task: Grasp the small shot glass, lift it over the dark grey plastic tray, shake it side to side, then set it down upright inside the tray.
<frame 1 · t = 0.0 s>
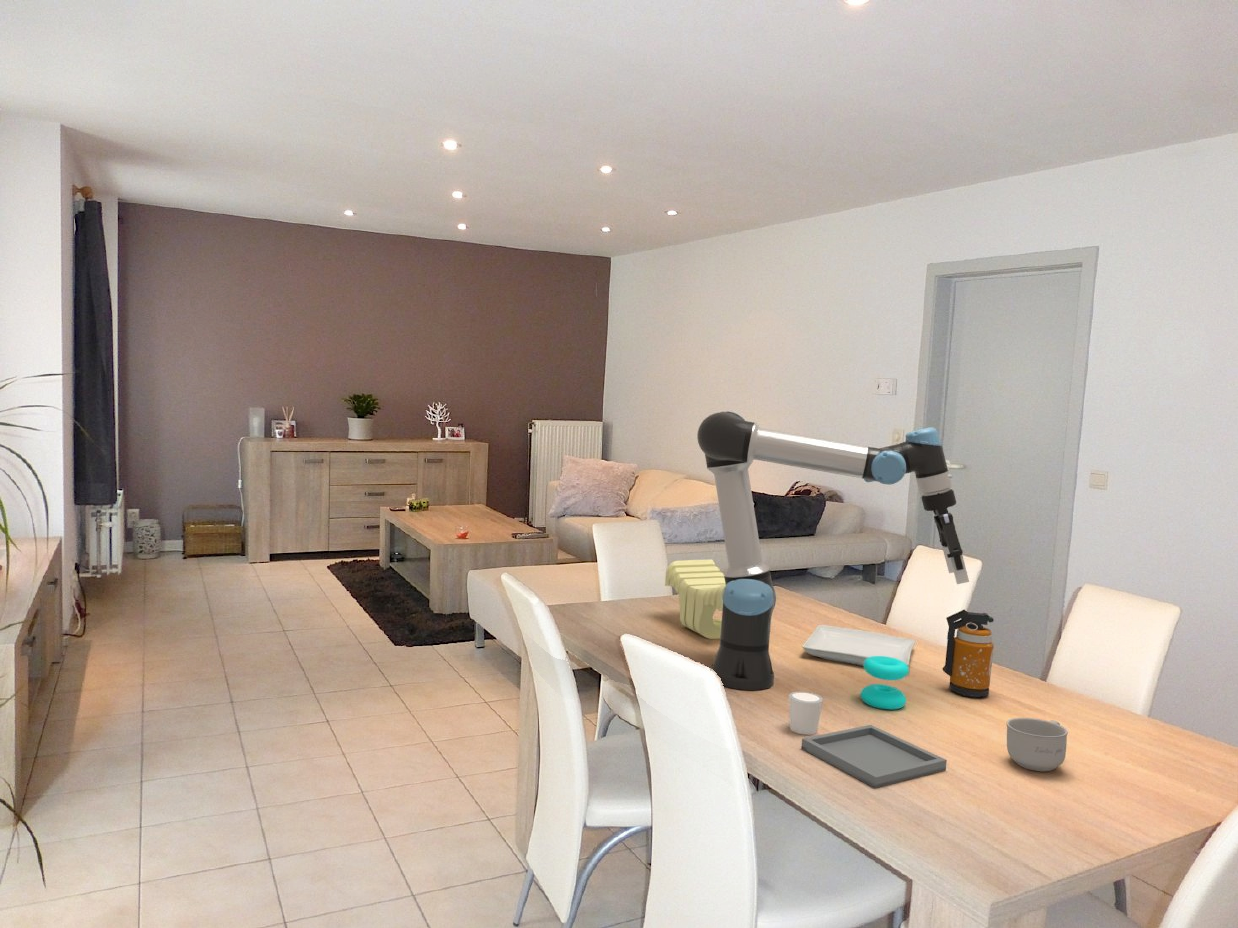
hand: (958, 577, 216), 28 cm above the table, tool tilted 20°, fingers open, 13 cm apart
tray: (872, 759, 173), on the table
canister: (963, 693, 218), on the table
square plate: (859, 656, 246), on the table
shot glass: (803, 730, 187), on the table
donuts: (882, 704, 206), on the table
teacup: (1038, 765, 176), on the table
slatted curved stool: (712, 632, 259), on the table
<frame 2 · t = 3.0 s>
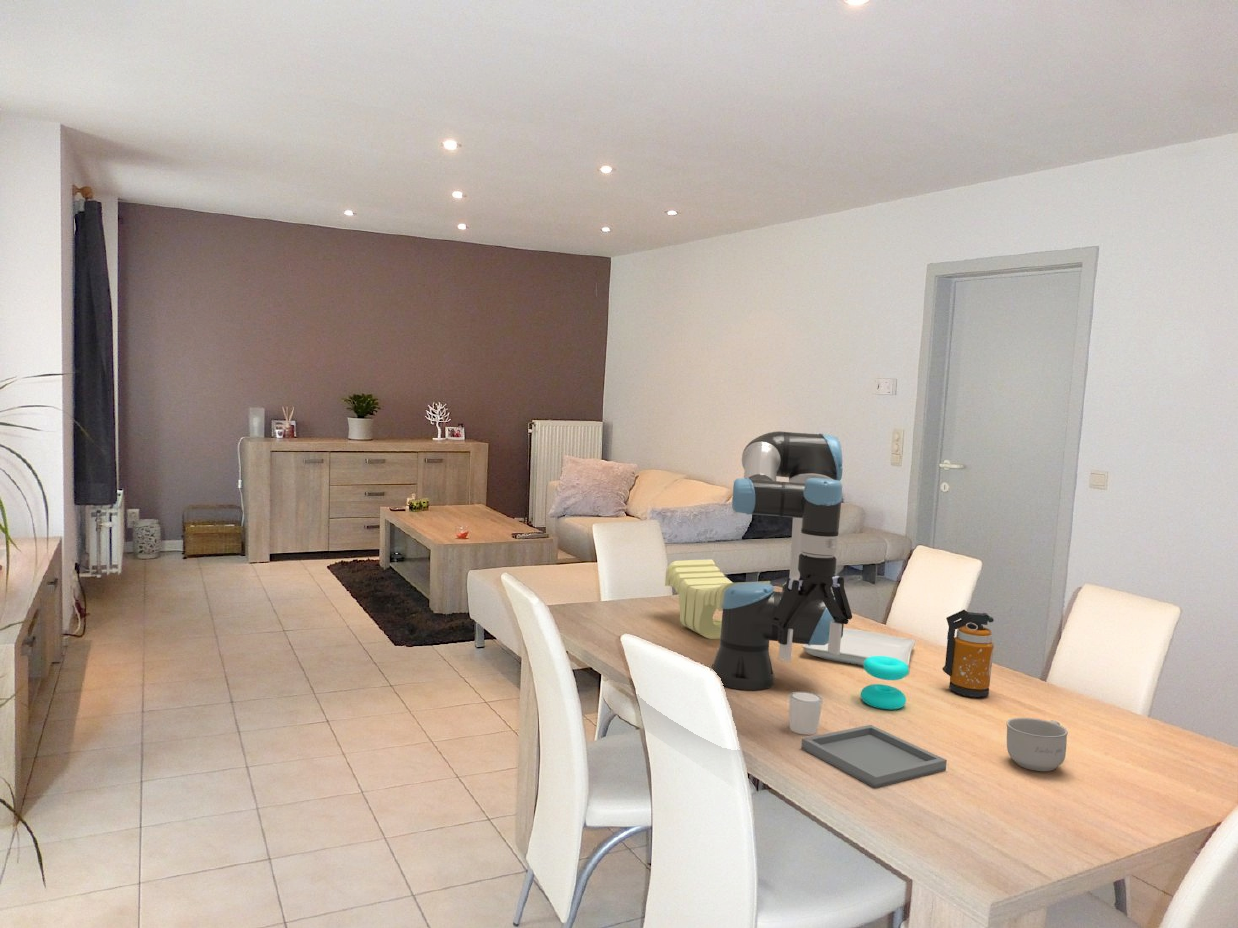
hand: (809, 656, 185), 15 cm above the table, tool pointing down, fingers open, 13 cm apart
nothing on the table moved.
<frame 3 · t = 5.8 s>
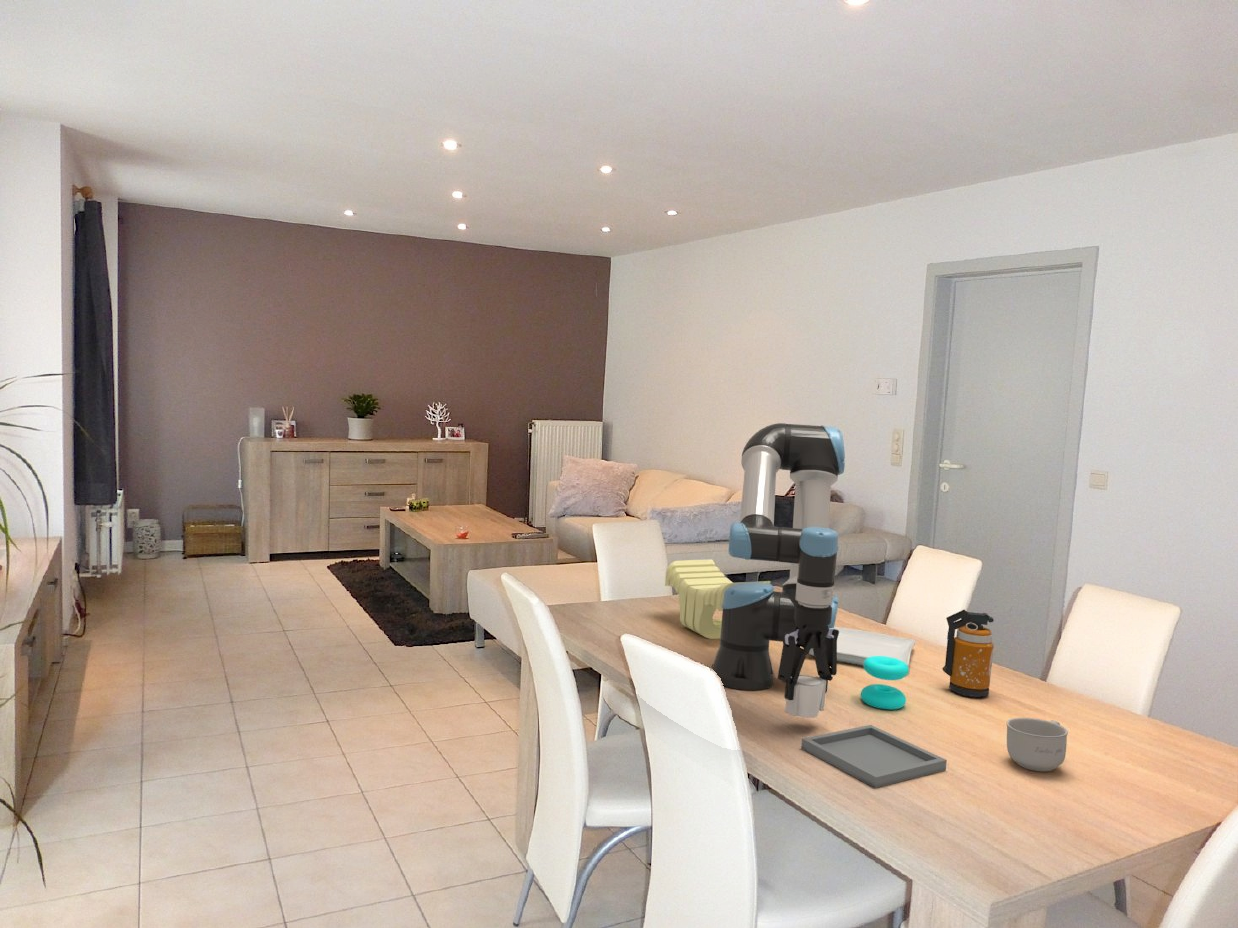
hand: (804, 711, 187), 4 cm above the table, tool pointing down, fingers closed on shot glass, 7 cm apart
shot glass: (804, 713, 187), point 3 cm above the table, touching gripper
everything else where it was.
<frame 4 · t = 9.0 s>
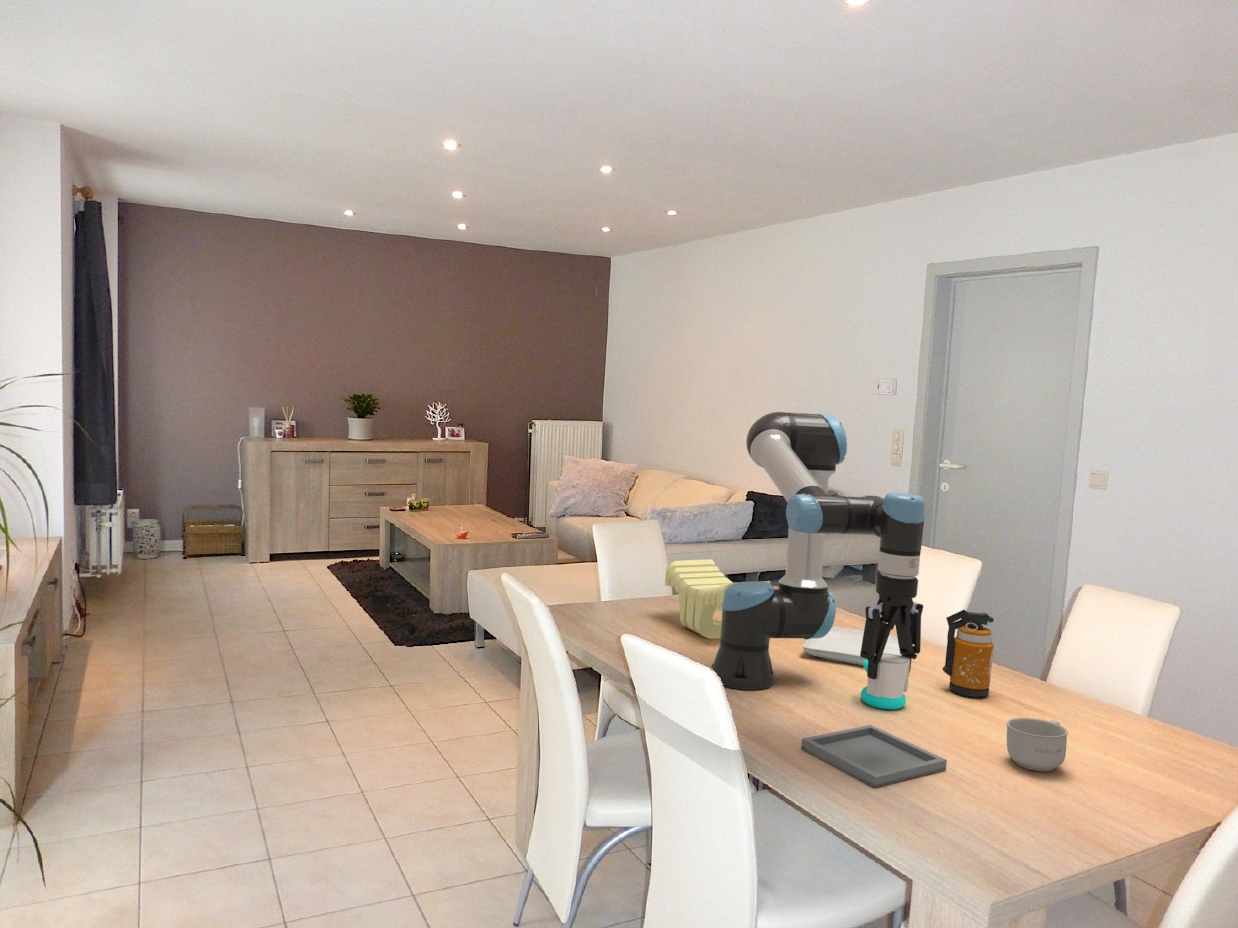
hand: (887, 691, 174), 13 cm above the table, tool pointing down, fingers closed on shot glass, 7 cm apart
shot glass: (887, 694, 174), point 13 cm above the table, touching gripper
everything else where it was.
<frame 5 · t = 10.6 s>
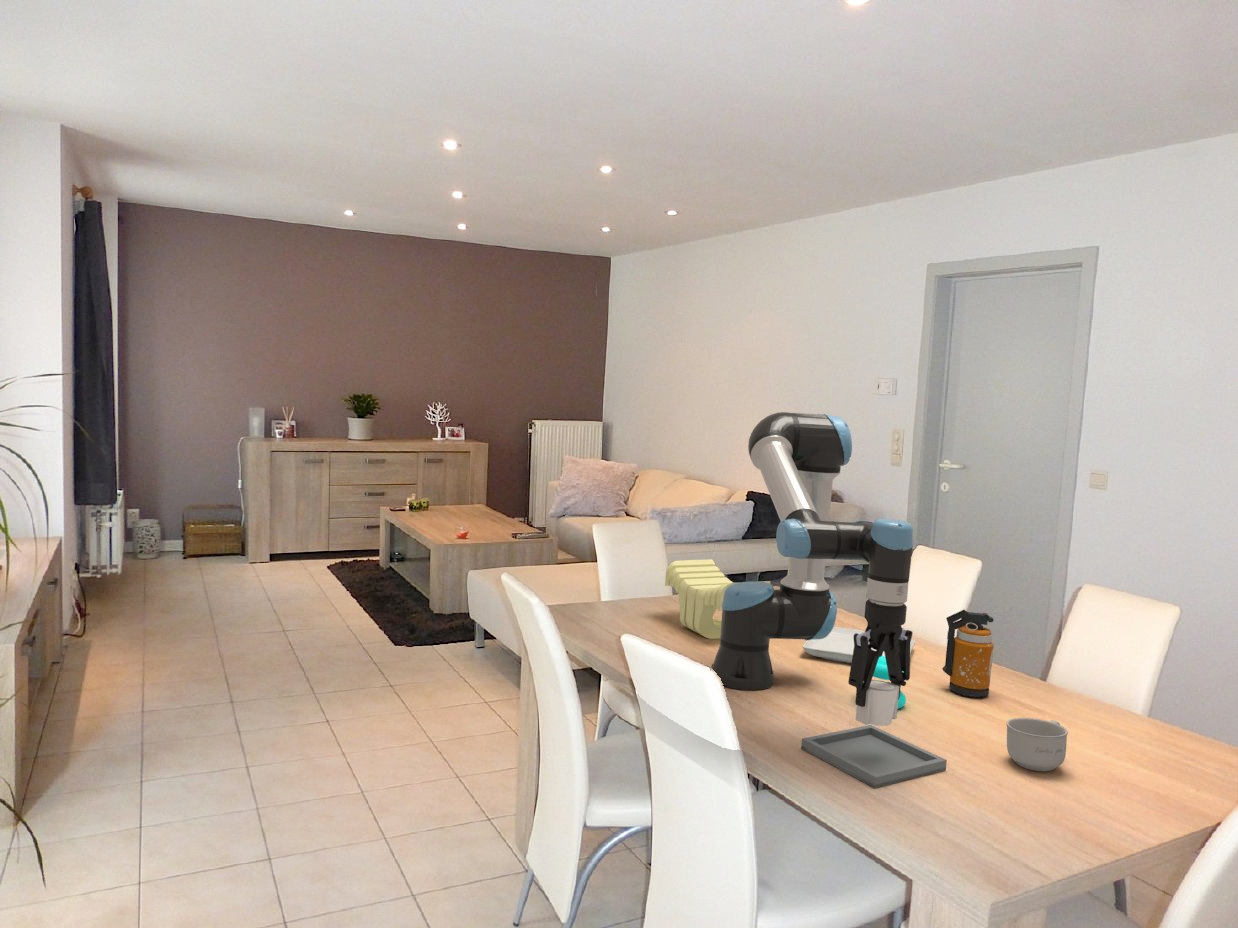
hand: (876, 719, 173), 8 cm above the table, tool pointing down, fingers closed on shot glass, 7 cm apart
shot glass: (876, 721, 173), point 8 cm above the table, touching gripper
everything else where it was.
when the fingers open (1 cm above the table, at t = 12.1 s): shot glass stays where it is, resting on tray.
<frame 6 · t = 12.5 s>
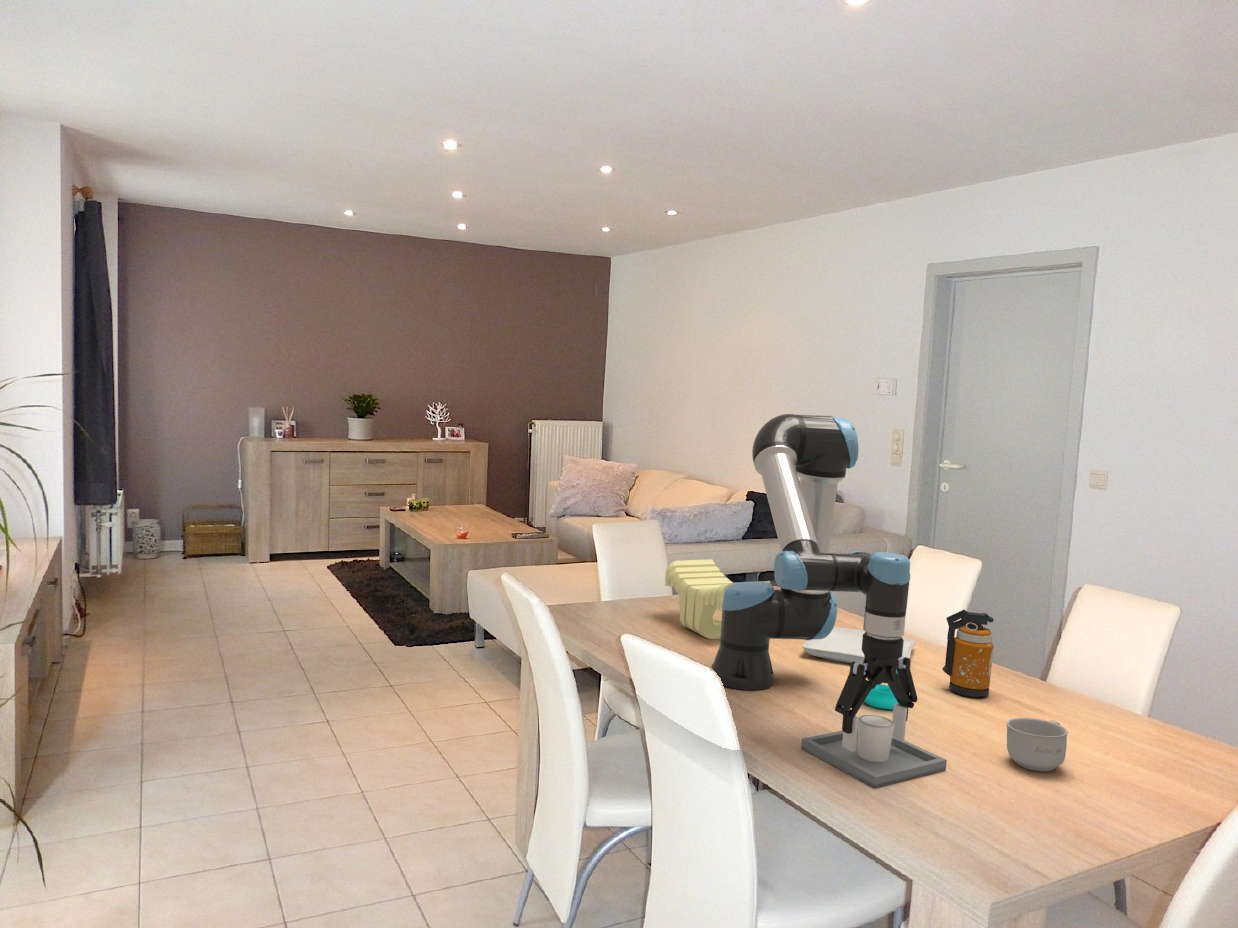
hand: (873, 743, 173), 3 cm above the table, tool pointing down, fingers open, 13 cm apart
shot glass: (872, 756, 173), resting on tray
everything else where it was.
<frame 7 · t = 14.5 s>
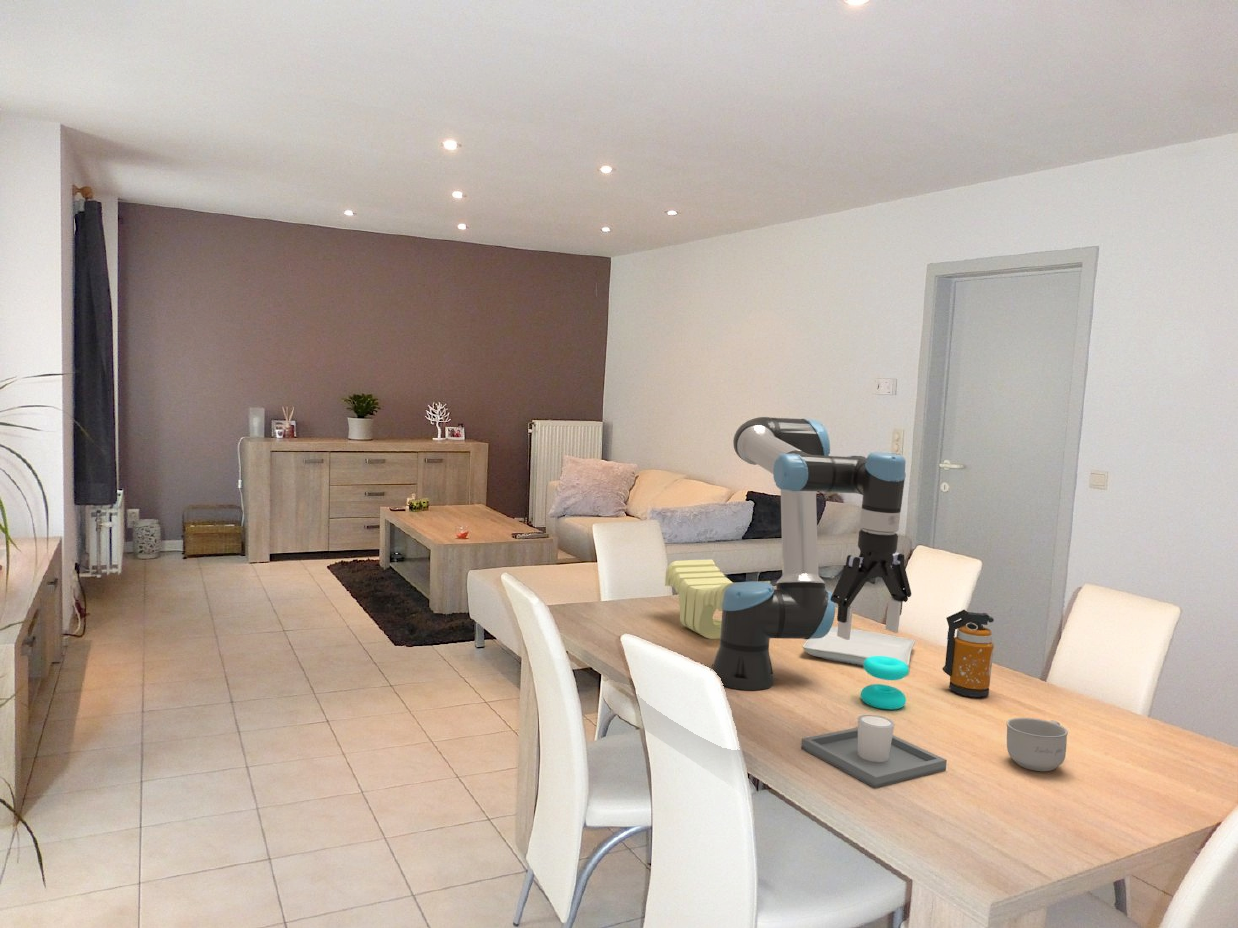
hand: (867, 634, 182), 22 cm above the table, tool pointing down, fingers open, 13 cm apart
nothing on the table moved.
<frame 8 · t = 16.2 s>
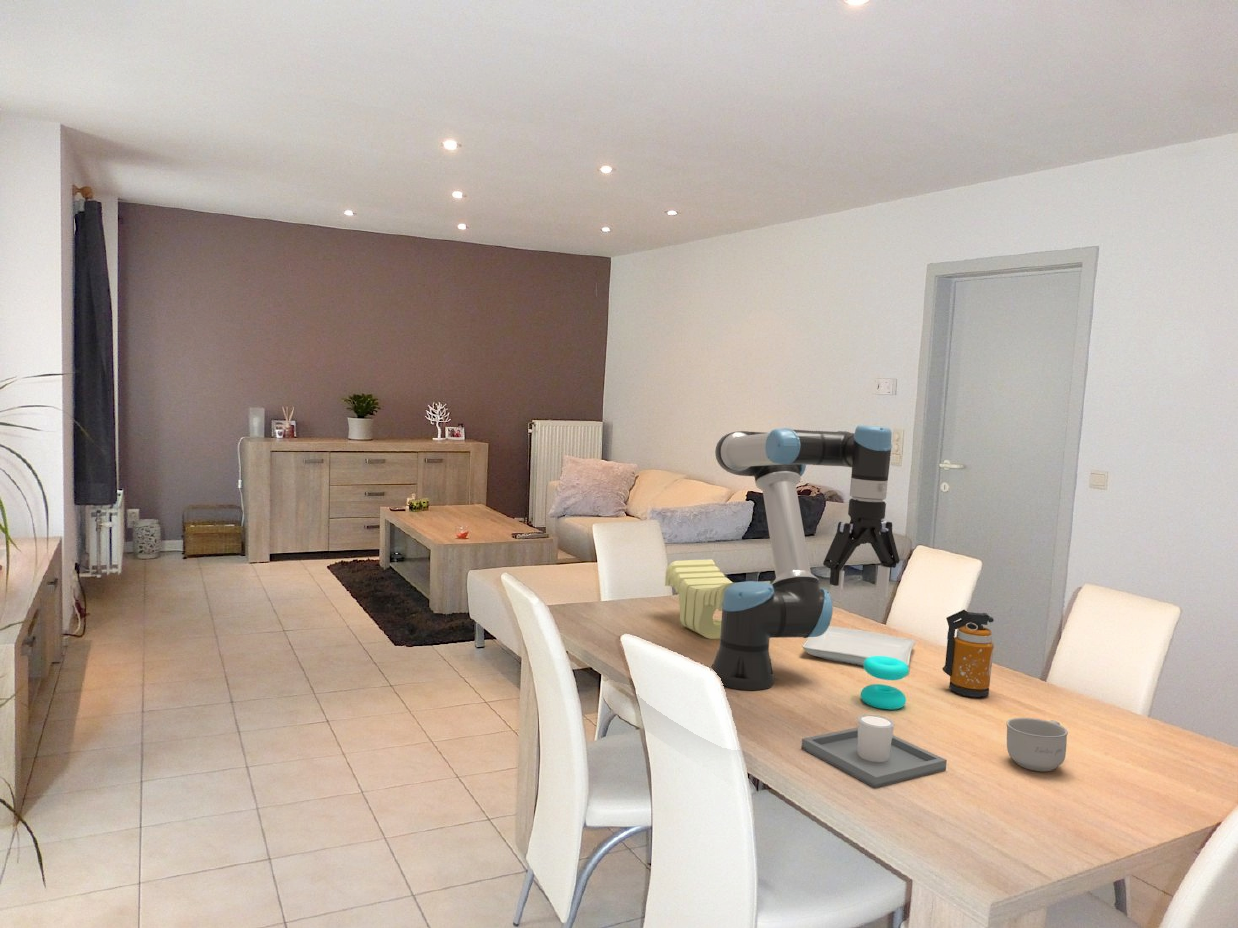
hand: (859, 598, 191), 27 cm above the table, tool pointing down, fingers open, 13 cm apart
nothing on the table moved.
at the end: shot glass inside the target area on the tray (0.1 cm from its centre), point 0.4 cm above the tray's base; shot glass tilted 0°; the gripper is holding nothing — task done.
